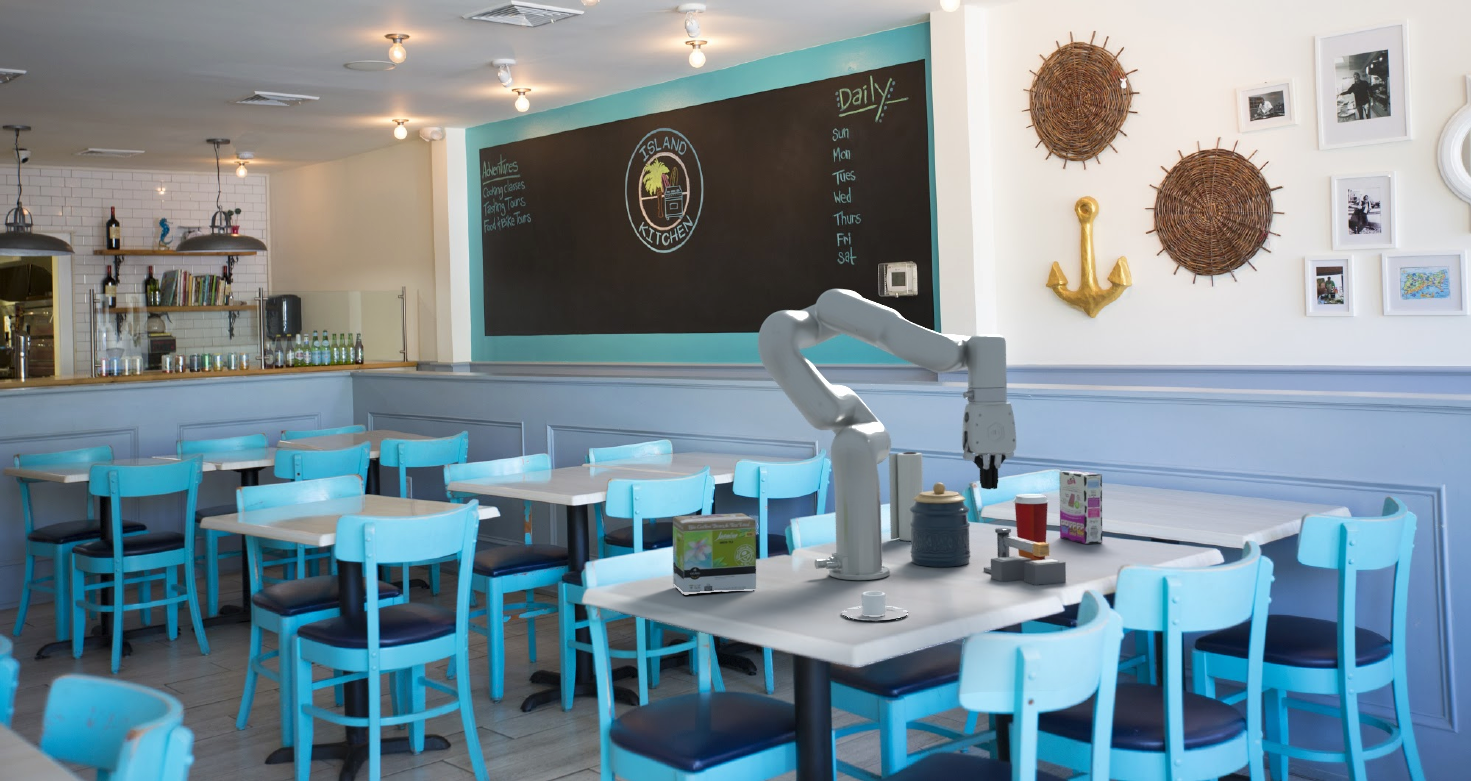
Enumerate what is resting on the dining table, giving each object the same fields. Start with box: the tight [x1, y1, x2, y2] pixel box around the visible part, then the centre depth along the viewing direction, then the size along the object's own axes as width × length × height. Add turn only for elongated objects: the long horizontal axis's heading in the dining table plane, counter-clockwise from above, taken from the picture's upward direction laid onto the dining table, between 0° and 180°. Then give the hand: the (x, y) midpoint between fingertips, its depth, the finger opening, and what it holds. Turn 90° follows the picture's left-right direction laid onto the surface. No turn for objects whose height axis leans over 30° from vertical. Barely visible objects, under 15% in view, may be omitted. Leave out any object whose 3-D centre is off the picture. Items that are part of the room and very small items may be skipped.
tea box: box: [672, 512, 757, 592], centre depth 240 cm, size 15×10×15 cm, turn 105°
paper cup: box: [1012, 493, 1050, 561], centre depth 265 cm, size 8×8×14 cm
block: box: [990, 555, 1031, 583], centre depth 243 cm, size 7×4×4 cm, turn 109°
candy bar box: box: [1058, 470, 1103, 545], centre depth 286 cm, size 11×5×16 cm, turn 17°
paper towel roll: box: [888, 451, 924, 542], centre depth 293 cm, size 7×6×21 cm
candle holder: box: [841, 590, 909, 619], centre depth 215 cm, size 12×12×4 cm
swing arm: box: [1004, 535, 1050, 557], centre depth 242 cm, size 13×2×2 cm, turn 19°
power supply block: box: [1023, 558, 1067, 586], centre depth 239 cm, size 7×4×4 cm, turn 109°
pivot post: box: [983, 527, 1012, 574], centre depth 250 cm, size 6×6×9 cm
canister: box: [910, 482, 971, 568], centre depth 263 cm, size 13×13×18 cm
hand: (989, 488), depth 239 cm, fingers closed
